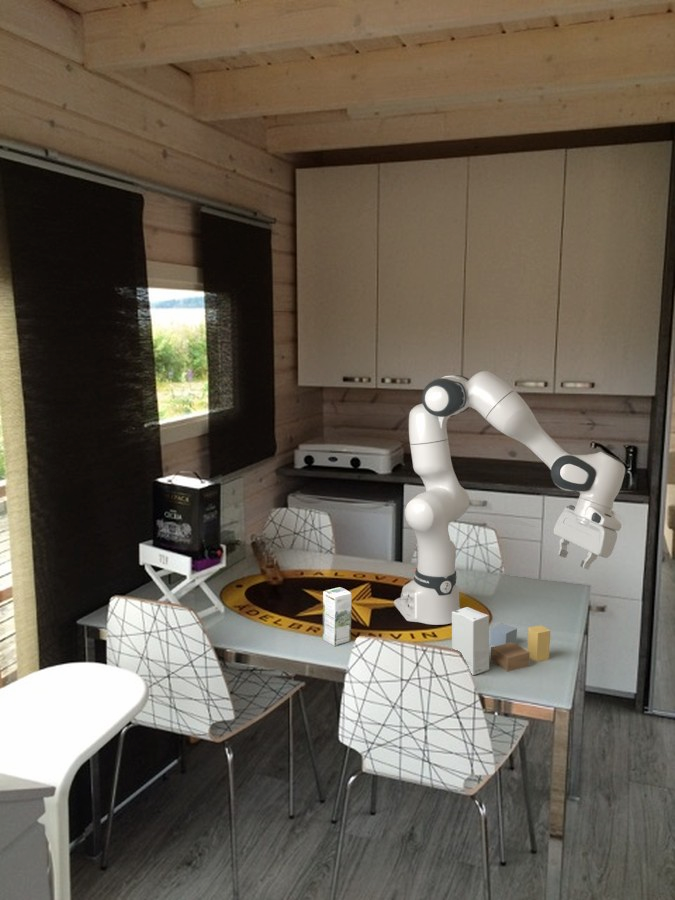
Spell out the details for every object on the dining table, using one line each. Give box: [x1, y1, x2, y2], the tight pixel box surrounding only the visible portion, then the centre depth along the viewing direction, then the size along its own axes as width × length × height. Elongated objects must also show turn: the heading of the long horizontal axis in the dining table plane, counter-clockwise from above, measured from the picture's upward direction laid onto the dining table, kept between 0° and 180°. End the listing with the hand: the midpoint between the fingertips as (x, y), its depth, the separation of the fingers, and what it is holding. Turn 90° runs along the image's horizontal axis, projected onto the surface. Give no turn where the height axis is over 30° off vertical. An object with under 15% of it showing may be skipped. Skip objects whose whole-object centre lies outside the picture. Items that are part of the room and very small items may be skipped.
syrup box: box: [321, 586, 353, 647], centre depth 221 cm, size 6×6×14 cm
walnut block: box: [489, 642, 530, 672], centre depth 209 cm, size 7×7×4 cm
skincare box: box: [451, 606, 490, 676], centre depth 206 cm, size 8×6×15 cm
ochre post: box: [526, 624, 551, 663], centre depth 212 cm, size 4×4×8 cm
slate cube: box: [489, 623, 518, 647], centre depth 220 cm, size 5×5×5 cm
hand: (572, 562), depth 213 cm, fingers open, 8 cm apart
